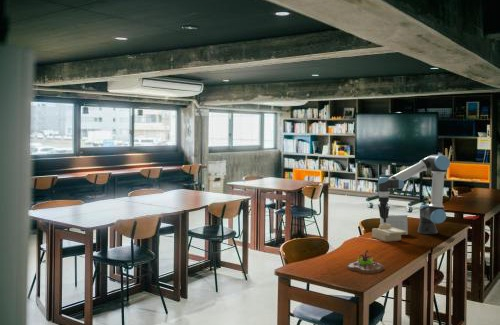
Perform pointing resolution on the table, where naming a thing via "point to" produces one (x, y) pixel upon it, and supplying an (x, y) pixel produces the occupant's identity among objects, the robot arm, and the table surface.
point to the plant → (365, 265)
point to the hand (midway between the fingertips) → (384, 226)
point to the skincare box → (397, 222)
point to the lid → (389, 230)
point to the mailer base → (386, 238)
